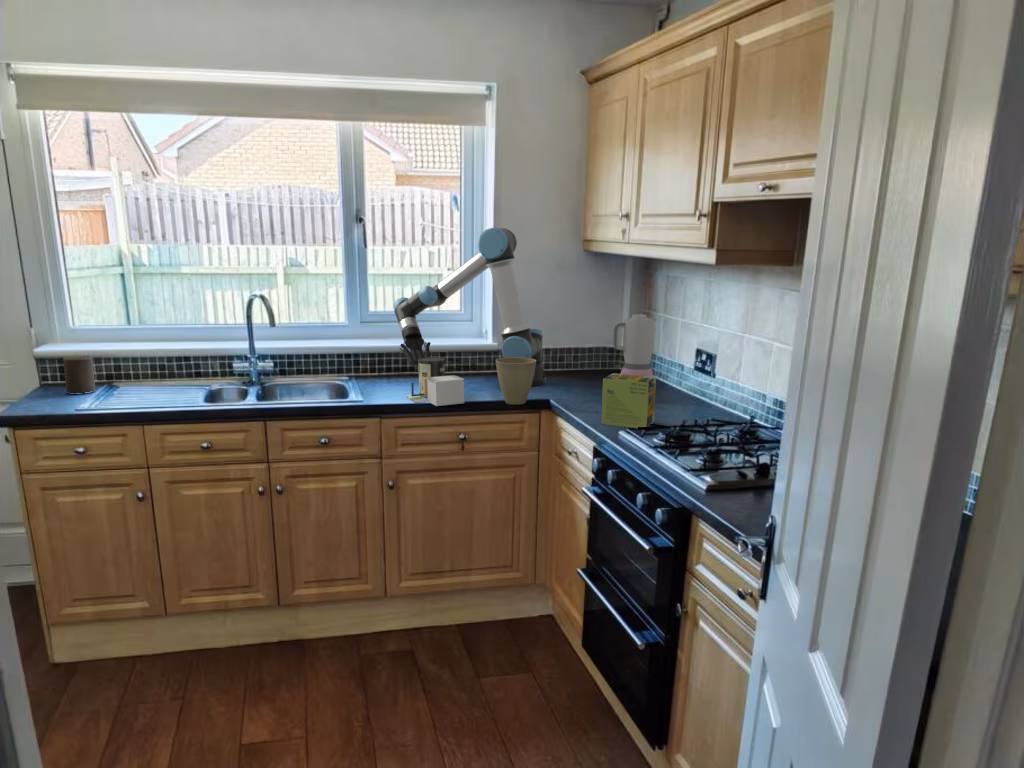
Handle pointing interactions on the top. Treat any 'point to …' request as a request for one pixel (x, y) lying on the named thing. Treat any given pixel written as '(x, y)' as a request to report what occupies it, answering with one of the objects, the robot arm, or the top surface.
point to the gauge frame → (443, 391)
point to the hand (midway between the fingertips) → (425, 378)
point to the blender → (636, 344)
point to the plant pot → (515, 378)
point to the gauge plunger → (425, 389)
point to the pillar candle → (79, 374)
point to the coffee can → (430, 369)
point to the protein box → (628, 400)
